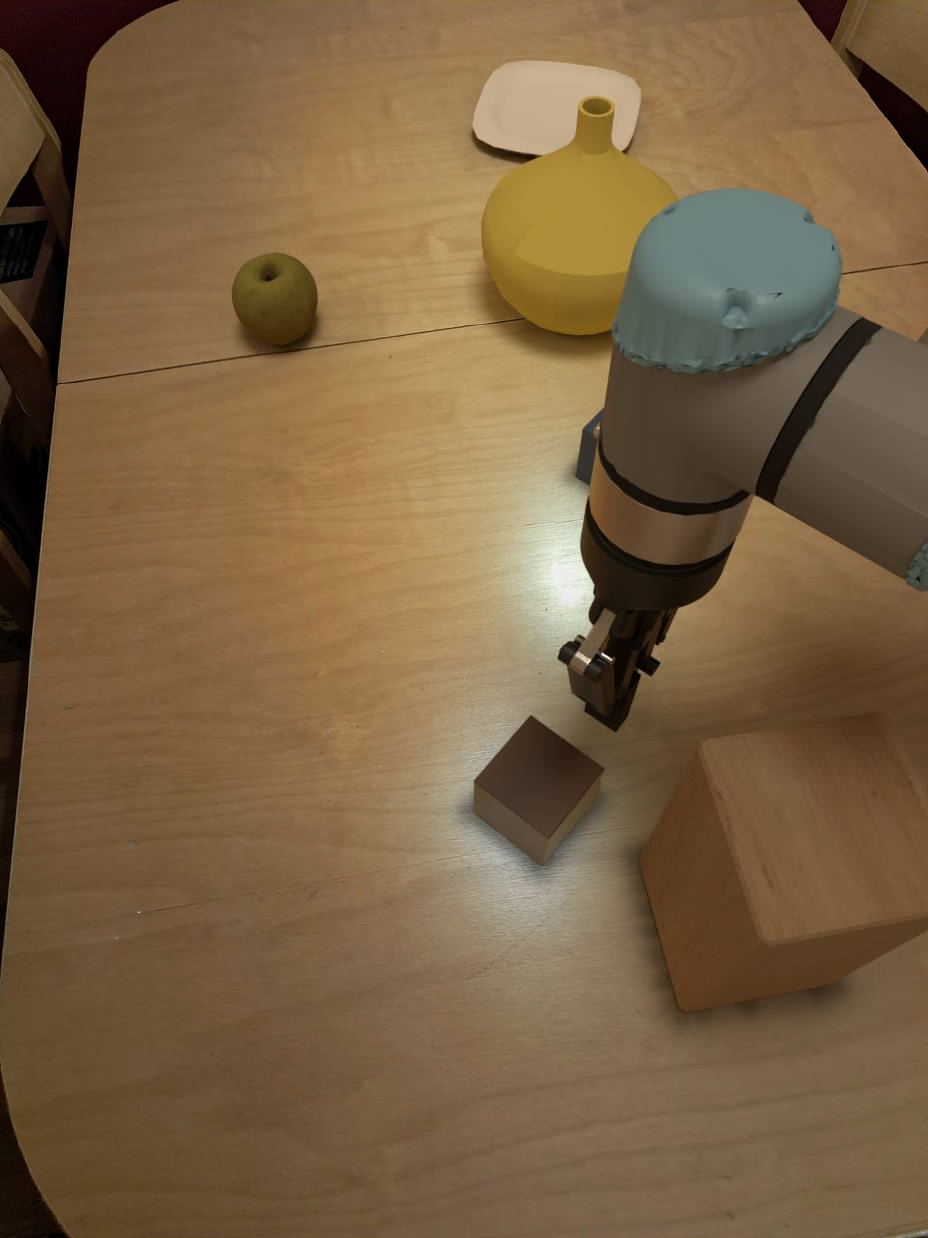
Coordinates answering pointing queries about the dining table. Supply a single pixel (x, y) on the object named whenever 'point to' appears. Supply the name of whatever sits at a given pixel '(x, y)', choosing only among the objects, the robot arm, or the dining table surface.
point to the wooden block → (788, 859)
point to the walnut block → (536, 789)
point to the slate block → (588, 450)
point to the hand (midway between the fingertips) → (605, 714)
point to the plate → (549, 105)
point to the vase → (571, 227)
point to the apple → (275, 298)
